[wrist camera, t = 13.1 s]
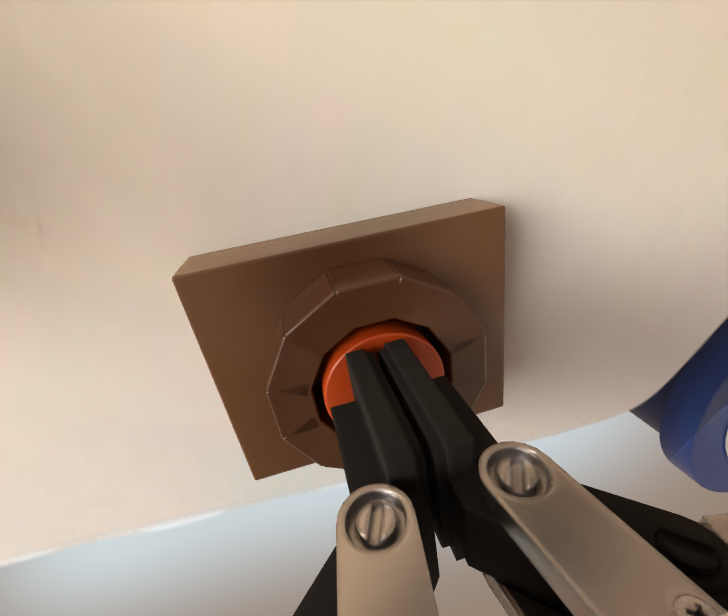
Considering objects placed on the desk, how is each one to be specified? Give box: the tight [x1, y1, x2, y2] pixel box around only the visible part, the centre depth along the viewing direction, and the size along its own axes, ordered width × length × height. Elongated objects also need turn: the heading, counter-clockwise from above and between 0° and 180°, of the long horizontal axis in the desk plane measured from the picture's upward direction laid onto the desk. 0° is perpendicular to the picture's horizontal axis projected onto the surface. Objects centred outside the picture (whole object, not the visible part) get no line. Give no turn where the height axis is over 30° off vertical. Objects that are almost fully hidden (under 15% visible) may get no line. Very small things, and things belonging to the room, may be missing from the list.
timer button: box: [318, 318, 444, 420], centre depth 11 cm, size 4×4×2 cm
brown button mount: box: [172, 198, 505, 480], centre depth 12 cm, size 10×8×4 cm
